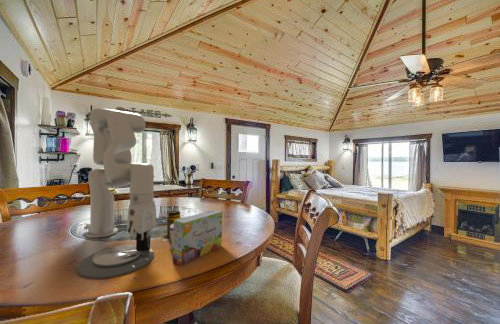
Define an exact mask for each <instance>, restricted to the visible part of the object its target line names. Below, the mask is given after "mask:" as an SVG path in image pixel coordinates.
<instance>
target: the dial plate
mask: <svg viewBox="0 0 500 324" xmlns="http://www.w3.org/2000/svg"><path fill="white" fill-rule="evenodd" d="M98 252H99V251H97V252H94V253H93V254H90V255H88V256H86V257H85V258H83V259H82V260H81V261H80V262H79V263H78V265H77V267H76V270H77V274H78V275H80V276H81V277H84V278H87V279H106V278H107V279H108V278H113V277H114V278H115V277H119V276H122V275H126V274H130V273H133V272H135V271H138V270H140V269H142V268H143V267H145V266H147V265H148V264H150V262H152V260H153V259H154V255H155V252H154V250H153V249H152V247H150V251H149V253H147V254H142V255H141V256H140V257H139V258H138V259H137V260H135V261H133V262H131V263H128V264H125V265H121V266H116V267H107V268H103V267H97V266H94V265H93V256H94V255H95V254H96V253H98Z"/></svg>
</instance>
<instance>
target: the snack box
mask: <svg viewBox="0 0 500 324" xmlns="http://www.w3.org/2000/svg"><path fill="white" fill-rule="evenodd" d="M222 233H223V211H222V210H221V211H220V210H216V209H211V210H209V211H205V212H201V213H197V214H194V215H193V214H192V215H190V216H187V217H186V216H185V217H183V218H182V217H181V219H178V220H174V227H173V250H172V263H175V264H177V265H179V266H184V265H186V264H188V263H190V262H191V261H192V262H193V261H194V260H196V259H198V258H200V257H202V256H204V255H207V254H208V253H210V252H213V251H214V250H216V249H218V248H221V247H222V241H223V240H222V237H223V234H222Z"/></svg>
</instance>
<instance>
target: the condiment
mask: <svg viewBox="0 0 500 324" xmlns="http://www.w3.org/2000/svg"><path fill="white" fill-rule="evenodd" d="M167 214H168V215H167V220H166V221H167V222H166V225H167V228H166V233H167V234H166V235H165V234H163V235H160V237H161V239H162V240H163V241H164V242H166V241H170V229H169V227H170V225H172V224H174V220H178V219H182V217H181V212H180V210H170V211H168V213H167Z"/></svg>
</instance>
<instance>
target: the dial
mask: <svg viewBox="0 0 500 324" xmlns="http://www.w3.org/2000/svg"><path fill="white" fill-rule="evenodd" d="M150 248H151V235H150V234H149V236H148V238H147V250H145V251H137V250H136V244H122V245H115V246H111V247H108V248H104V249H101V250H100V251H97V252H98V253H97V252H95V253H96V254H95V255H94V256H93V265H94V266H97V267H103V268H107V267H116V266H121V265H125V264H128V263H131V262H133V261H135V260H137V259H138V258H139V257H140V256H141V255H142V254H147V253H149V251H150Z"/></svg>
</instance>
